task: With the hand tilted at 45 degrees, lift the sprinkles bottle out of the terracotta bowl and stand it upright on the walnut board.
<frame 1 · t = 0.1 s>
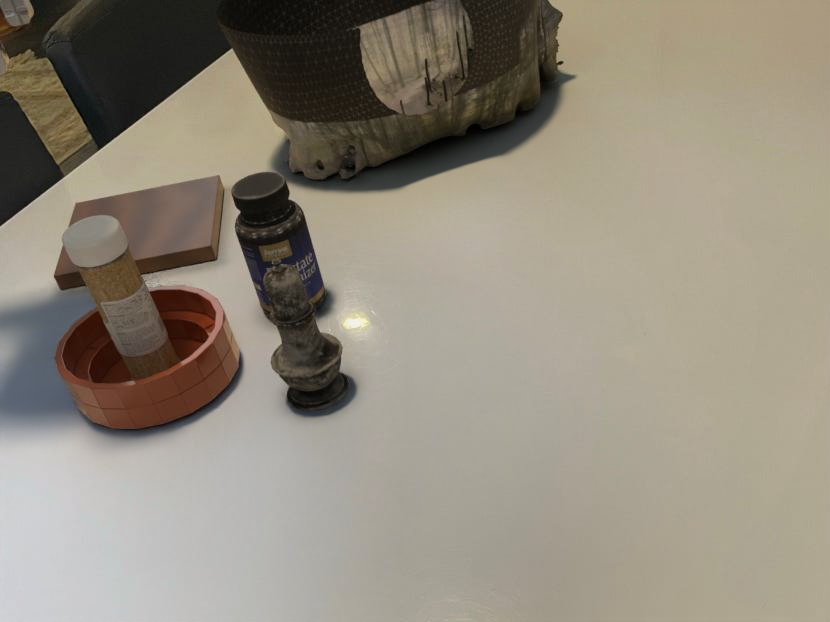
hand: (11, 46, 69), 25 cm above the table, tool pointing down, fingers open, 8 cm apart
grey stone chess piece: (318, 392, 80), on the table
bowl: (160, 378, 84), on the table
basket: (417, 125, 108), on the table
board: (145, 236, 100), on the table
sprinkles bottle: (159, 376, 84), resting on bowl
pill bottle: (295, 304, 89), on the table
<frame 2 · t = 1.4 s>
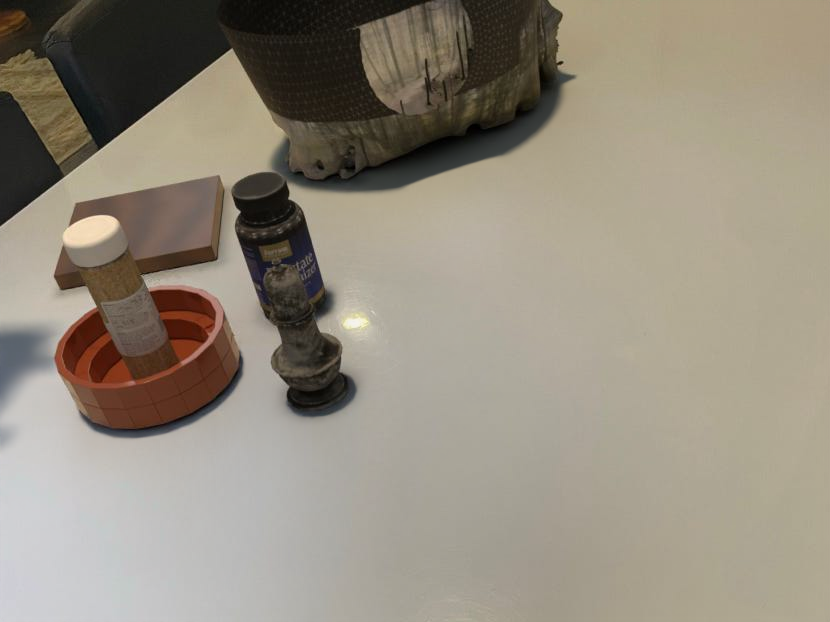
nothing on the table moved.
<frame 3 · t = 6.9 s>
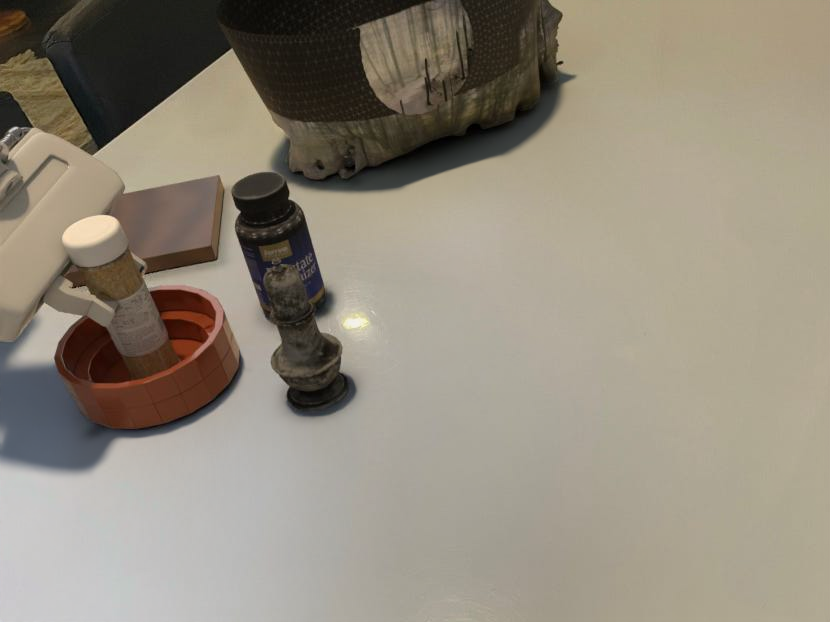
hand: (128, 296, 78), 8 cm above the table, tool tilted 45°, fingers closed on sprinkles bottle, 4 cm apart
sprinkles bottle: (159, 376, 84), resting on bowl, touching gripper
everything else where it was.
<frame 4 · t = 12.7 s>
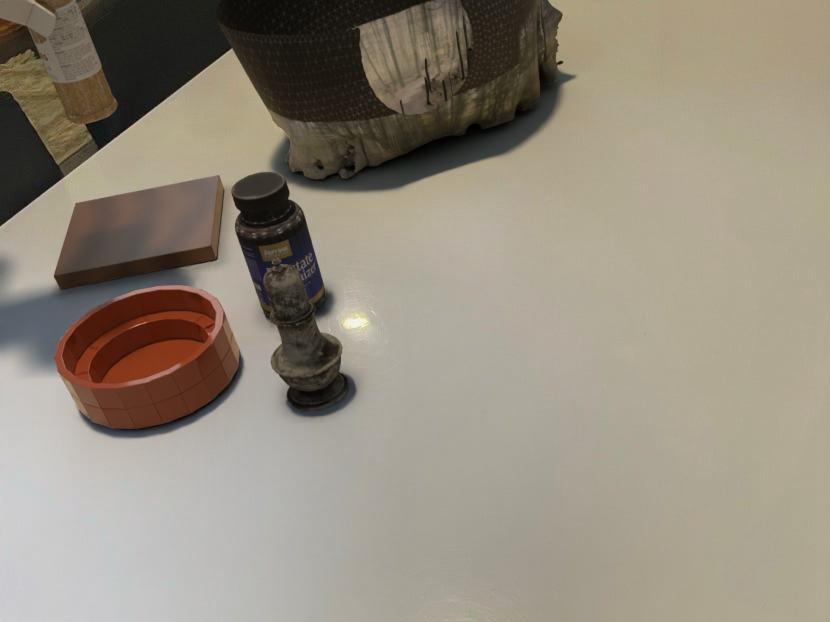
hand: (59, 13, 77), 23 cm above the table, tool tilted 45°, fingers closed on sprinkles bottle, 4 cm apart
sprinkles bottle: (95, 116, 83), point 15 cm above the table, touching gripper
everything else where it was.
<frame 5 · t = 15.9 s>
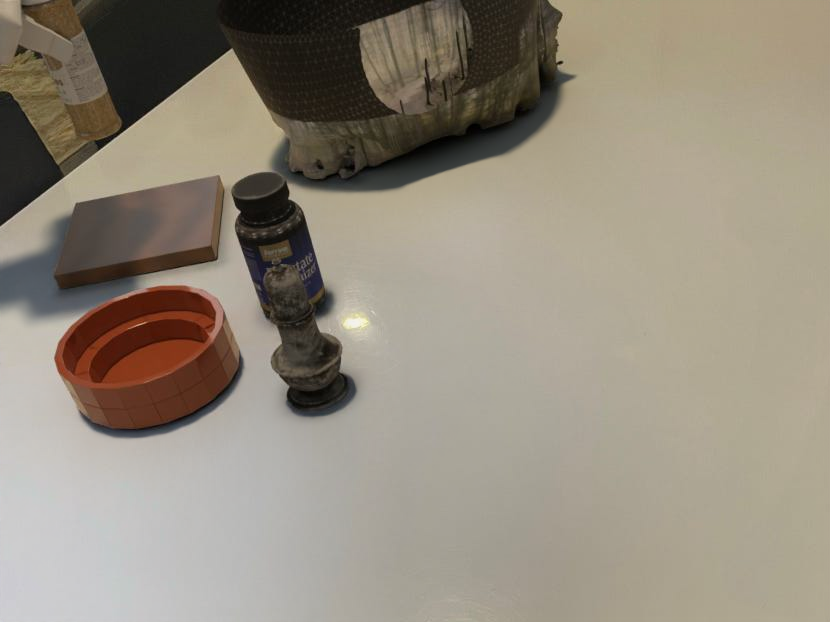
hand: (70, 43, 86), 18 cm above the table, tool tilted 45°, fingers closed on sprinkles bottle, 4 cm apart
sprinkles bottle: (101, 133, 92), point 10 cm above the table, touching gripper
everything else where it was.
when the fingers open (9 cm above the table, at t = 18.7 s): sprinkles bottle stays where it is, resting on board.
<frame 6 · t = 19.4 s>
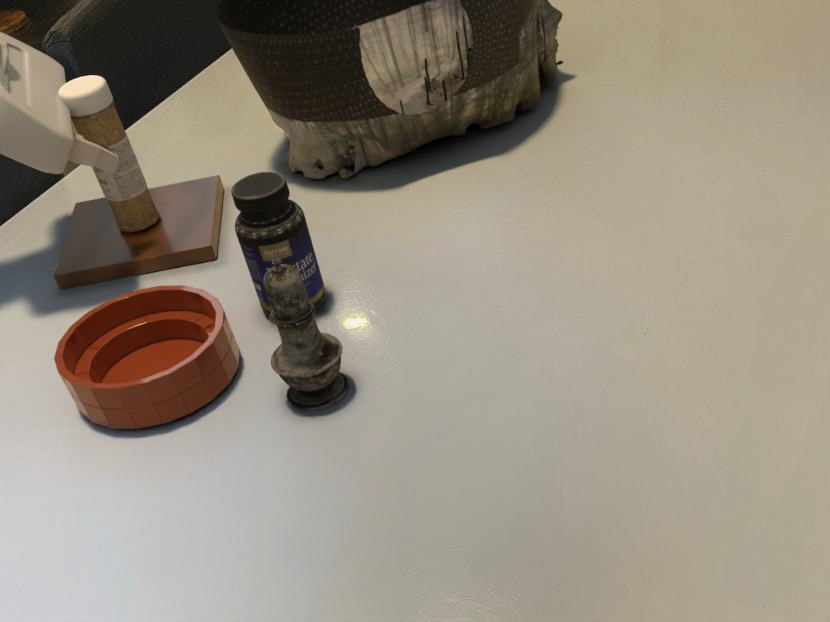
hand: (112, 144, 93), 9 cm above the table, tool tilted 45°, fingers open, 8 cm apart
sprinkles bottle: (140, 224, 99), point 1 cm above the table, touching board
everything else where it was.
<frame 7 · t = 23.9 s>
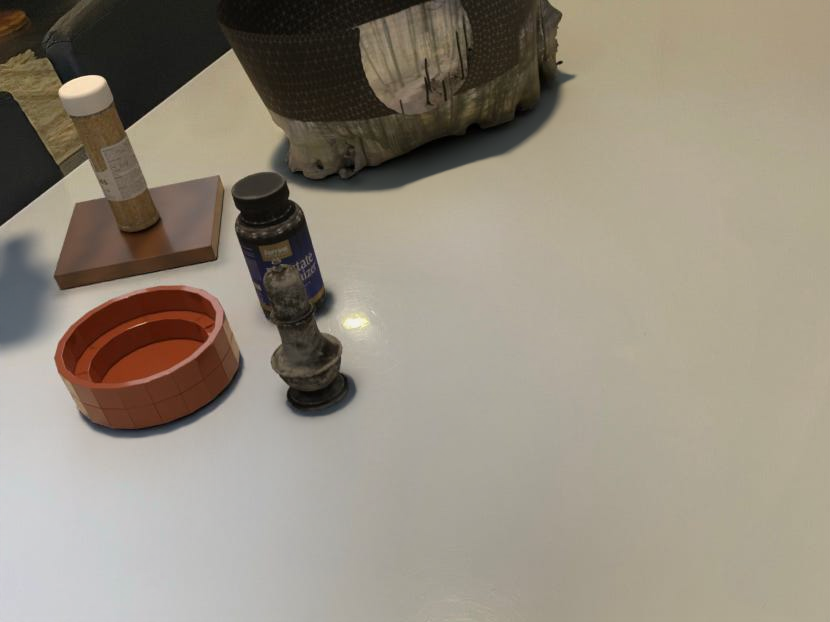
nothing on the table moved.
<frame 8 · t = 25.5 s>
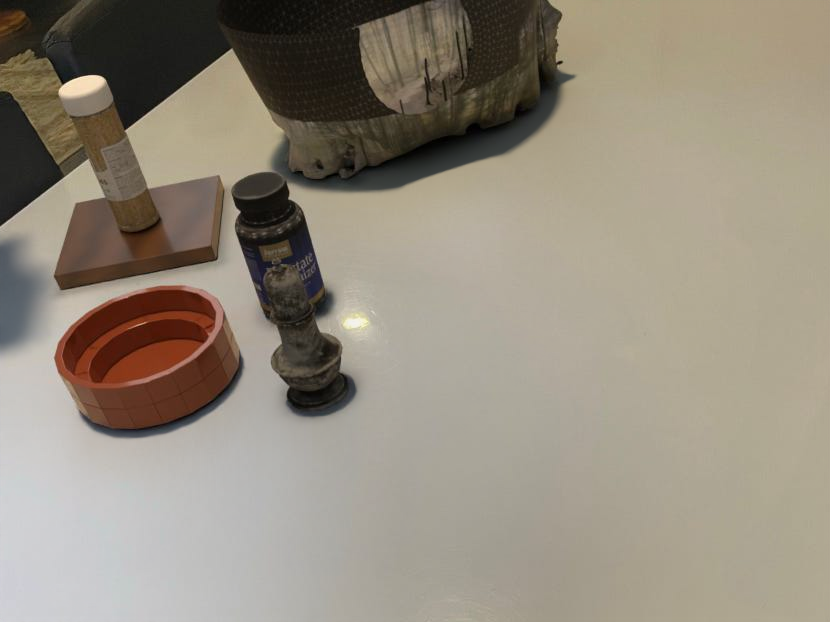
nothing on the table moved.
at the end: sprinkles bottle inside the target area on the board (0.1 cm from its centre), point 1.3 cm above the board's base; sprinkles bottle tilted 0°; the gripper is holding nothing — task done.
